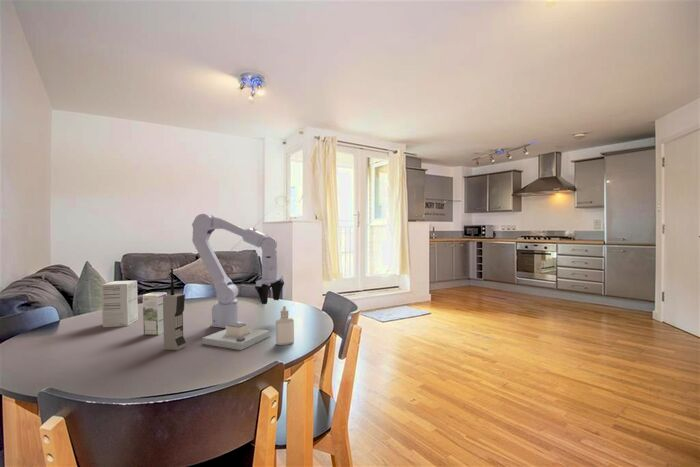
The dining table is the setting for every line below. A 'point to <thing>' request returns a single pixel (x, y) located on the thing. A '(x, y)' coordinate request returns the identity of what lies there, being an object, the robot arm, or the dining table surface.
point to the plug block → (236, 330)
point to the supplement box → (119, 303)
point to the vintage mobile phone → (173, 319)
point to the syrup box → (153, 313)
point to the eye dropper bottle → (284, 328)
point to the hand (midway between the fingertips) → (270, 301)
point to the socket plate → (236, 339)
